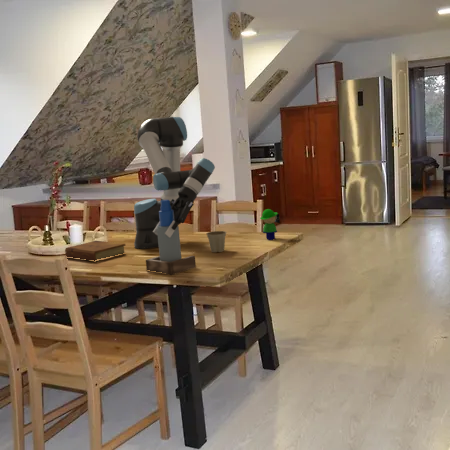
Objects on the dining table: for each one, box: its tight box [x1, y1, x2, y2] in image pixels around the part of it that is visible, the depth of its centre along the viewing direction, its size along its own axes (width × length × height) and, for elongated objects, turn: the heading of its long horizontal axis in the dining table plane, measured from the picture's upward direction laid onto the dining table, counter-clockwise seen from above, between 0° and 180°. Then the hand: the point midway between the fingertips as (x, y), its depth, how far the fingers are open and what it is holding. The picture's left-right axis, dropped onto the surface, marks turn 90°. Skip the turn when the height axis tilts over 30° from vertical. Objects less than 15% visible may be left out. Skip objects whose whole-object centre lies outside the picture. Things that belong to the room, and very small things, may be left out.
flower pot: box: [206, 230, 227, 253], centre depth 279 cm, size 9×9×9 cm
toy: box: [260, 208, 281, 241], centre depth 298 cm, size 9×9×15 cm
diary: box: [64, 240, 126, 261], centre depth 291 cm, size 23×19×6 cm
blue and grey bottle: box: [157, 199, 182, 262], centre depth 248 cm, size 9×9×25 cm
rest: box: [145, 255, 197, 276], centre depth 250 cm, size 15×14×5 cm
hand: (161, 234), depth 246 cm, fingers closed on blue and grey bottle, 8 cm apart
